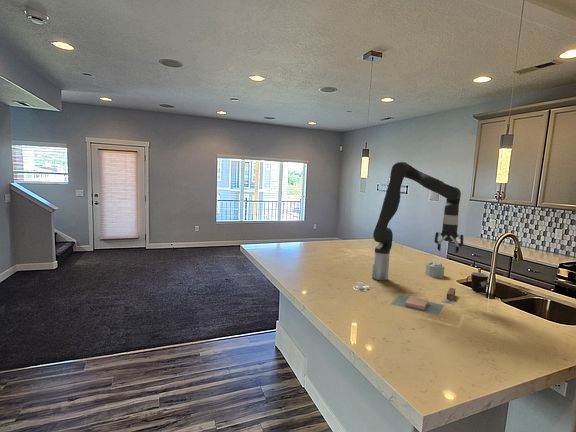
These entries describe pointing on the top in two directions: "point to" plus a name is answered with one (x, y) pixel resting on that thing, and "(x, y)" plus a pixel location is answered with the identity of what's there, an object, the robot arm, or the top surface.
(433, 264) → the lumpy-topped squat cylinder
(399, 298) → the slate mat
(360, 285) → the teacup and saucer
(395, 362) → the top surface
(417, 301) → the tile
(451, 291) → the turner
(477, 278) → the coffee mug
